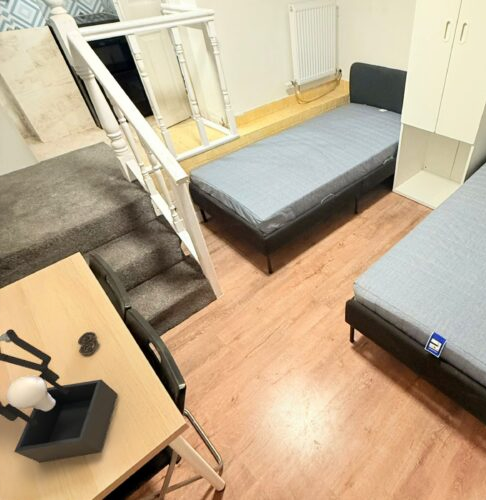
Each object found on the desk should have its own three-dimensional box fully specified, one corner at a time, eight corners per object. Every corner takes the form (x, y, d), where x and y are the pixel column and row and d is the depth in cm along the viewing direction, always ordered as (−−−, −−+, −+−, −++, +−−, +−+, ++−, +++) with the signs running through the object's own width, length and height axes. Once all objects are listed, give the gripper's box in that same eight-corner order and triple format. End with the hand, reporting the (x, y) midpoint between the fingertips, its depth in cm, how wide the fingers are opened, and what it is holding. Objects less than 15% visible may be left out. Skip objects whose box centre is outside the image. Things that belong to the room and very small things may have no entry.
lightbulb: (63, 386, 75) (32, 363, 67) (69, 408, 72) (37, 386, 64) (32, 405, 72) (-4, 383, 65) (37, 428, 69) (-1, 408, 61)
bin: (39, 462, 75) (13, 451, 69) (62, 402, 85) (42, 388, 79) (101, 452, 76) (81, 440, 70) (117, 393, 86) (101, 379, 80)
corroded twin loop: (96, 330, 100) (94, 328, 99) (101, 349, 95) (99, 348, 94) (77, 339, 98) (75, 337, 97) (82, 359, 93) (80, 357, 92)
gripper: (-128, 381, 54) (2, 459, 60) (-4, 295, 66) (94, 367, 72) (-112, 381, 59) (5, 453, 65) (0, 302, 71) (90, 368, 77)
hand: (52, 408), depth 68 cm, fingers closed on lightbulb, 6 cm apart
